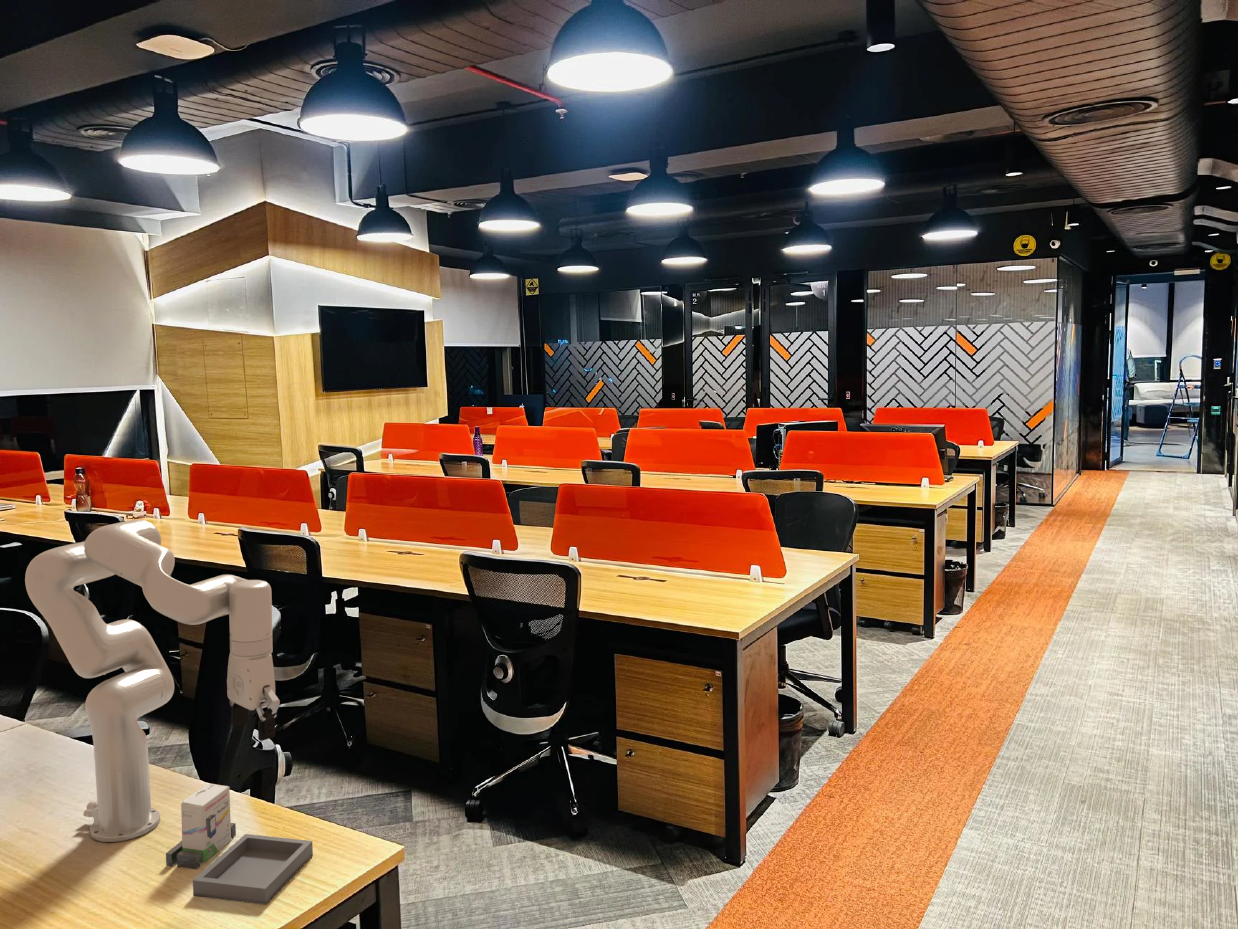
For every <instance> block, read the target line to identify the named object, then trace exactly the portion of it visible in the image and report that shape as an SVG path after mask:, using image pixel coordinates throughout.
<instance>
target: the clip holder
mask: <svg viewBox="0 0 1238 929" xmlns="http://www.w3.org/2000/svg"><path fill="white" fill-rule="evenodd" d="M236 827H237V825H236V822H235V823H234V822H231V839H233V838H234V837H236V836H237V831H236V830H237V828H236ZM175 865H176V866H177V868H181V867H183V868H182V869H188V870H189V869H192V870H197V869H198V868H200V867H201V862H200V853H192V852H183V851H182V840H181V841H179V842H178V843H176V845H174V846H173V847H172V848H171V849H169V850H168V851H167V852H166V853H165V866H166V867H174V866H175Z"/></svg>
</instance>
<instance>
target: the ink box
mask: <svg viewBox="0 0 1238 929" xmlns="http://www.w3.org/2000/svg"><path fill="white" fill-rule="evenodd" d="M230 793H231V792H230V785H229V786H228V785H223V784H222V785H221V784H218V783H217V784H215V783H207V784H204V786H202V787H201V788H199V789H198V790H196V791H195V792H193V793H192V794H190V795H189V796H188V797H186V798H185V799H183V800H182V802H181V803H180V807H181V808H180V810H181V811H180V812H181V813H180V814H181V841H182V851H183V852H192V853H200V864H201V863H202V864H205V863H206V862H207V861H209V860H210V859H211V858H212V857H213V856H214V855H215V854H216V853H218V852H219V851H220V850H221V849H222V848H223V847H225V846H226V845H227V844H228V843H230V841H231V840H232V838H231V823H232V822H231V819H232V818H231V797H230V796H231V794H230Z"/></svg>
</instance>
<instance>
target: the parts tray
mask: <svg viewBox="0 0 1238 929" xmlns="http://www.w3.org/2000/svg"><path fill="white" fill-rule="evenodd" d="M313 849H314V848H313V840H307V839H306V840H305V839H299V838H298V839H296V838H287V837H280V836H268V835H259V834H251V833H250V834H249V833H244V835H243V836H241V837H240V838H238V840H237V841H236V842H235V843H234V844H232V845H231V846H230V847H229V848H228V849H226V850H225V851H224V852H223V853H222V854H221V855H220V856H218V858H216V859H215V860H214V861H213V862H211V864H210V865H208V866H206V868H205V869H204V870H202V871H201V872H200V873H199V874H197V875H196V877H194V879H192V894H193V897H199V898H205V897H206V898H205V899H215V900H222V901H230V902H231V901H232V902H241V903H249V904H255V905H256V904H257V905H264V906H266V905H267V904H268V903H269V902H271V901H272V899H273V898H274V897H275V896H276V895H277V894H278V893H279V892H280V891H281V890H282V889H283V888H284V886H285V885H286V884H287V883H289V881H290V880H291V879H292V878H293V877H294V876H295V875H296V874H297V873H298V872H299V871H300V870H301V869H302V868H303V867H304V866H305V864H307V862H308V861H309V860H310V859H311V858H312V857H313V856H314V853H313V852H314V850H313Z"/></svg>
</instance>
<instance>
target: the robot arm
mask: <svg viewBox="0 0 1238 929" xmlns="http://www.w3.org/2000/svg"><path fill="white" fill-rule="evenodd" d="M175 560H176V558H175V555H174V553H173V552H172V551H171V550H170V549H169V548H168V547H165V546H163V545H162V536H161V533H160V531H159V529H158V528H157V527H156V526H155V525H154V524H152V523H151V522H149V521H148V520H143V519H129V520H126V521H122V522H121V521H120V522H116V523H112V524H107V525H103V526H100V527H98V528H96V529H94V530H93V531H92V532H91V533H89V535H88V536H87V537H86V538H85V540H83V541H81V542H75V543H70V544H66V545H65V544H64V545H62V546H58V547H54V548H51V549H48V550H45V551H43V552H41V553H39V554H38V555H36V556H35V557H34V558H32V559H31V561H30V562H29V564H28V565H27V567H26V571H25V575H24V576H25V578H24V582H25V583H24V584H25V589H26V592H27V595H28V597H29V599H30V600H31V602H32V604H33V605H34V607H35V608H36V610H38V612H39V613H40V614H41V615H42V617H43V619H45V621H46V623H47V624H48V626H49V627H50V628H51V630H52V632H53V635H54V636H55V638H56V640H57V642H58V643H59V646H60V647H61V649H62V651H63V653H64V654H65V656H66V658H67V660H68V662H69V664H70V665H71V667H72V669H73V670H74V672H75V673H76V674H77V675H78V676H80V677H82V678H83V679H93V678H97V677H100V676H103V675H105V674H109V673H111V672H114V671H117V670H120V668H122V669H123V671H124V672H122V673H120V674H118V675H115V676H113V677H111V678H109V679H105V680H103V681H102V682H101V683H99V684H97V685H96V686H95V687H94V688H92V689H91V691H90V692H88V694H87V697H86V700H85V702H84V703H85V704H84V705H85V706H84V707H85V714H86V716H87V720H88V723H89V728H90V731H91V736H92V741H93V742H92V744H93V756H94V767H95V784H96V785H95V786H96V799H97V800H96V801H90V802H88V803H87V805H86V809H85V810H84V811H83V814H82V815H83V817H85V818H86V817H87V818H93V823H92V824H91V825H90V828H89V832H90V833H89V835H90V837H91V838H92V839H94V840H96V841H98V842H101V843H103V842H104V843H118V842H124V841H127V840H131V839H135V838H137V837H138V838H139V837H140V836H142V835H146V834H147V833H149V832H150V831H152V830H153V829H155V828H156V827H157V826H158V824H159V823H160V821H161V813H160V812H159V810H158V809H155V808H153V807H152V798H151V797H152V796H151V781H150V761H149V747H148V746H149V745H148V738H147V735H146V733H145V731H144V730H143V729H142V727H141V726H140V725H139V722H138V719H139V718H140V717H143V716H144V715H146V714H149V713H151V712H153V711H155V710H156V709H158V708H161V707H163V706H164V705H165V704H167V703H168V702H169V701H170V700H171V699H172V697H173V695H174V694H175V681H174V677H173V675H172V672H171V670H170V669H169V667H168V665H167V663H166V661H165V659H164V658H163V655H162V654H161V652H160V650H159V648H158V646H157V644H156V643H155V641H154V639H153V636H152V635H151V633H150V632H149V631H148V629H147V628H146V627H145V626H144V625H142V624H141V622H138V621H136V620H133V619H128V618H127V619H120V620H116V621H113V622H110V623H106V622H105V621H104V620H103V618H102V616H101V615H100V613H99V611H98V609H97V608H96V606H95V605H94V604H93V602H92V601H91V600H89V598H87V596H86V597H85V596H84V595H83V594H81V593H79V592H78V591H75V590H74V588H75V587H76V586H81V585H84V584H89V583H93V582H96V581H100V580H102V579H103V580H104V579H106V578H109V577H112V576H115V575H116V576H118V577H121V578H123V579H124V580H126V581H129V582H131V583H133V584H135V585H138V586H140V587H141V588H142V592H143V595H144V597H145V599H146V600H147V602H148V603H149V605H150V606H151V608H152V609H153V610H155V611H156V612H158V613H159V614H161V615H163V616H165V617H168V618H169V619H171V620H174V621H175V622H179V623H181V624H185V625H191V626H193V625H194V626H195V625H200V624H204V623H207V622H209V621H212V620H214V619H217V618H220V617H224V616H227V615H228V616H229V650H230V651H229V656H228V661H227V662H228V663H227V664H228V665H227V675H226V676H227V678H226V685H227V686H226V688H227V689H226V690H227V691H226V693H227V695H226V696H227V698H228V699H229V705H230V707H231V708H230V710H231V726H232V727H233V728H235V727H239V726H243V725H245V724H248V723H249V720H250V719H249V711H256V713H257V714H258V717H259V719H258V720H257V739H258V741H259V742H264V741H267V740H268V739H272V738H274V737H275V736H276V718H277V714H278V712H279V707H280V704H281V703H280V702H281V701H280V699H279V698H278V696H277V695H276V679H275V671H274V670H275V669H274V668H275V667H274V663H273V655H272V653H273V648H274V647H273V600H272V597H273V596H272V594H273V593H272V587H271V585H270V583H268V582H267V581H266V580H261V579H246V578H242V577H240V576H236V575H234V574H221V575H217V576H215V577H211V578H207V579H204V580H201V581H198V582H195V583H192V584H187V583H184V582H182V581H179V580H177V579H175V578H173V577H172V573H173V571H174V567H175V562H176V561H175ZM264 708H267V709H266V710H265V711H264V710H263V709H264Z"/></svg>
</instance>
